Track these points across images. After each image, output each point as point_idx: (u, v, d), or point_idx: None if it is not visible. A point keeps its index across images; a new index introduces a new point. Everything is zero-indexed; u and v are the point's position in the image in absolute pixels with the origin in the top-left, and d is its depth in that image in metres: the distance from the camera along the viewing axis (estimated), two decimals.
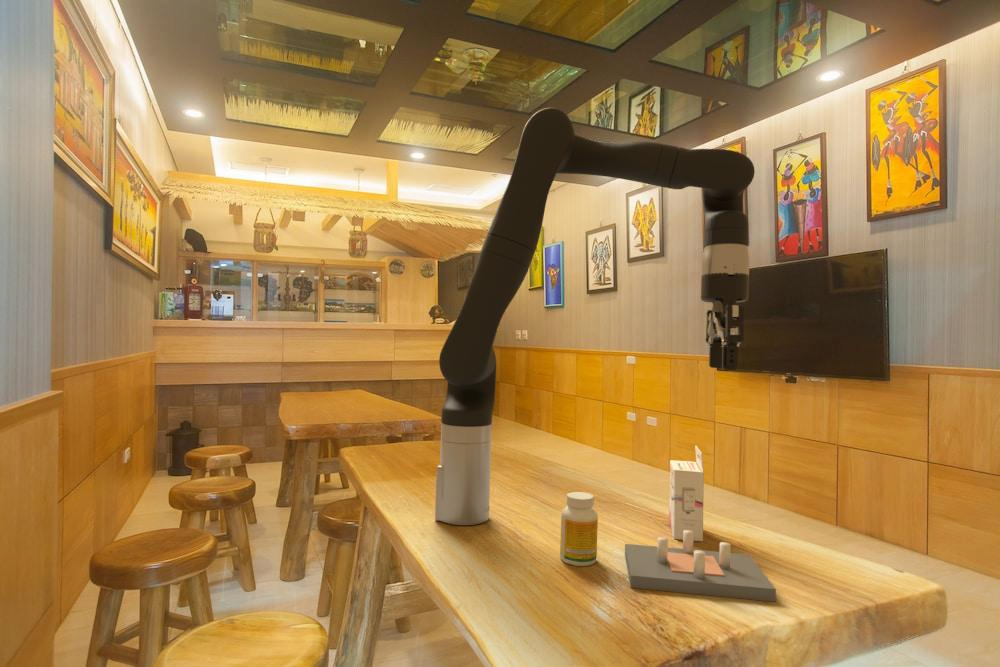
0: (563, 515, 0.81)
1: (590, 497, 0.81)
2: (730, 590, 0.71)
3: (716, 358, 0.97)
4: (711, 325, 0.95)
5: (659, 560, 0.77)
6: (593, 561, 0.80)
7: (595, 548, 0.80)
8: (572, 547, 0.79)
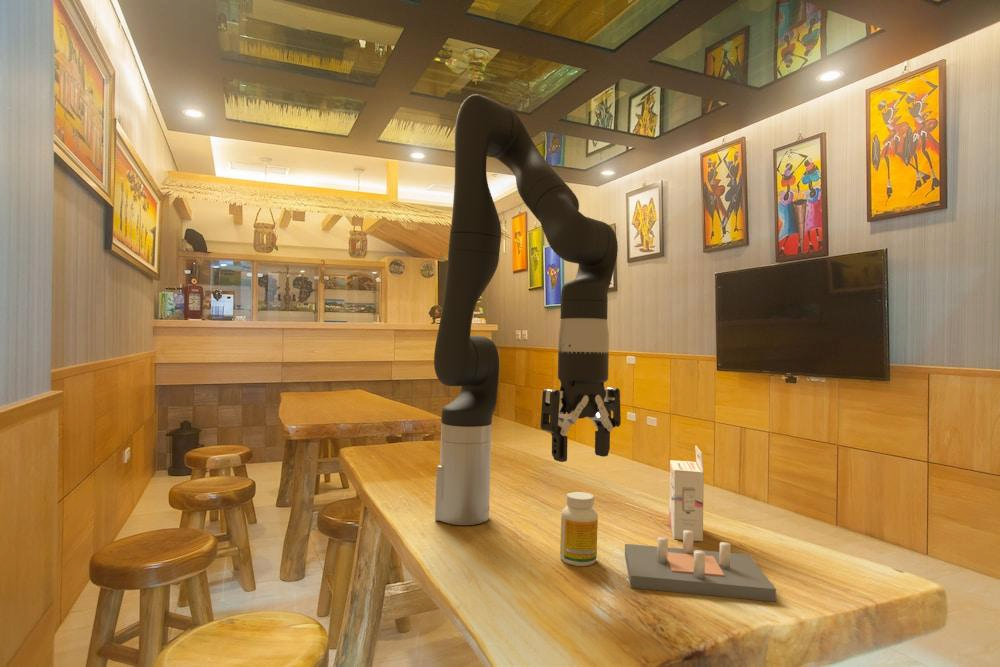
0: (563, 515, 0.81)
1: (590, 497, 0.81)
2: (730, 590, 0.71)
3: None
4: None
5: (659, 560, 0.77)
6: (593, 561, 0.80)
7: (595, 548, 0.80)
8: (572, 547, 0.79)
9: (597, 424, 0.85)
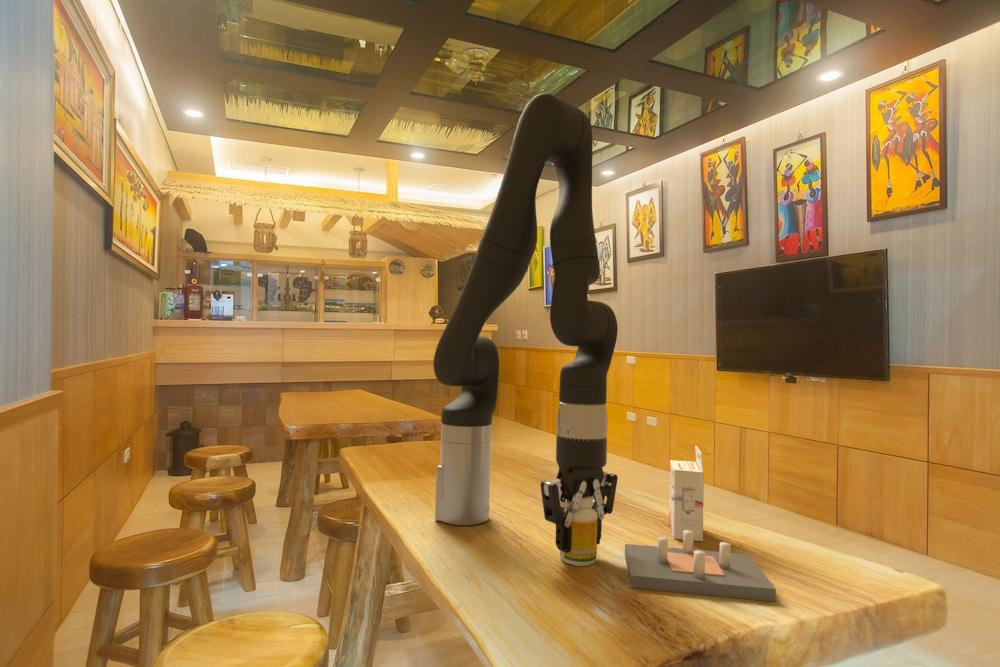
0: (563, 515, 0.81)
1: (589, 497, 0.81)
2: (730, 590, 0.71)
3: None
4: None
5: (659, 560, 0.77)
6: (593, 561, 0.80)
7: (595, 548, 0.80)
8: (572, 547, 0.79)
9: None
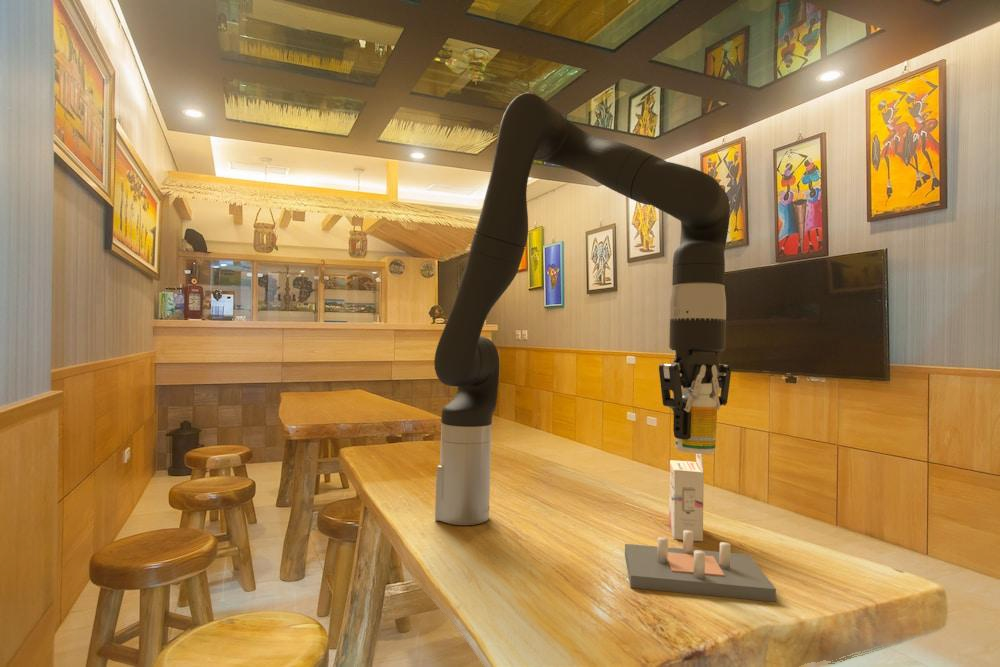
0: None
1: (708, 383, 0.77)
2: (730, 590, 0.71)
3: None
4: None
5: (659, 560, 0.77)
6: (713, 449, 0.76)
7: (715, 436, 0.76)
8: (692, 434, 0.75)
9: None
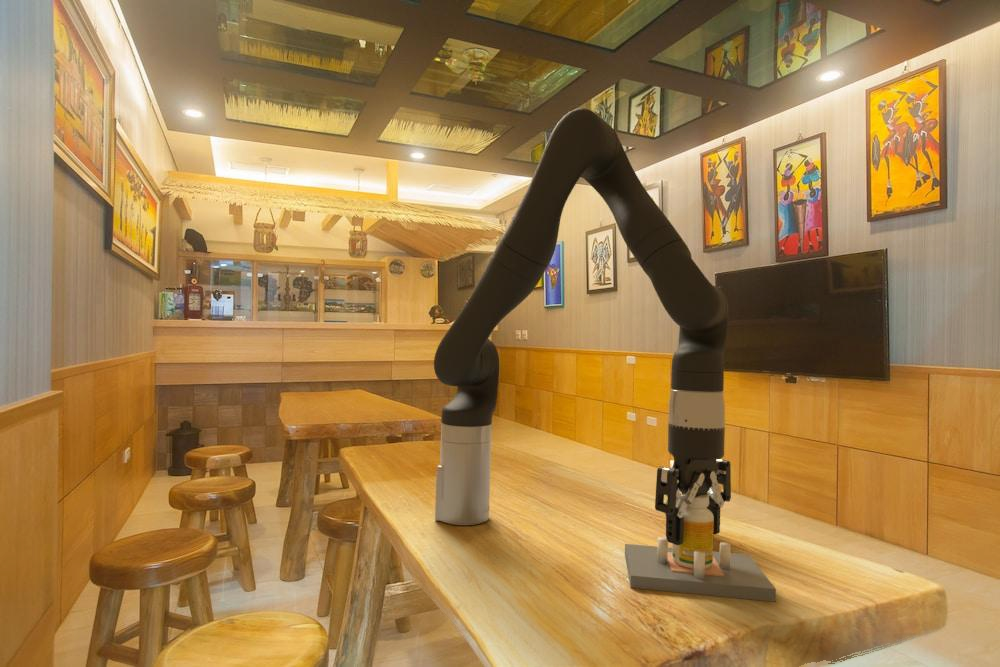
0: None
1: (705, 496, 0.76)
2: (730, 590, 0.71)
3: None
4: None
5: (659, 560, 0.77)
6: (711, 564, 0.75)
7: (712, 550, 0.76)
8: (689, 549, 0.75)
9: None
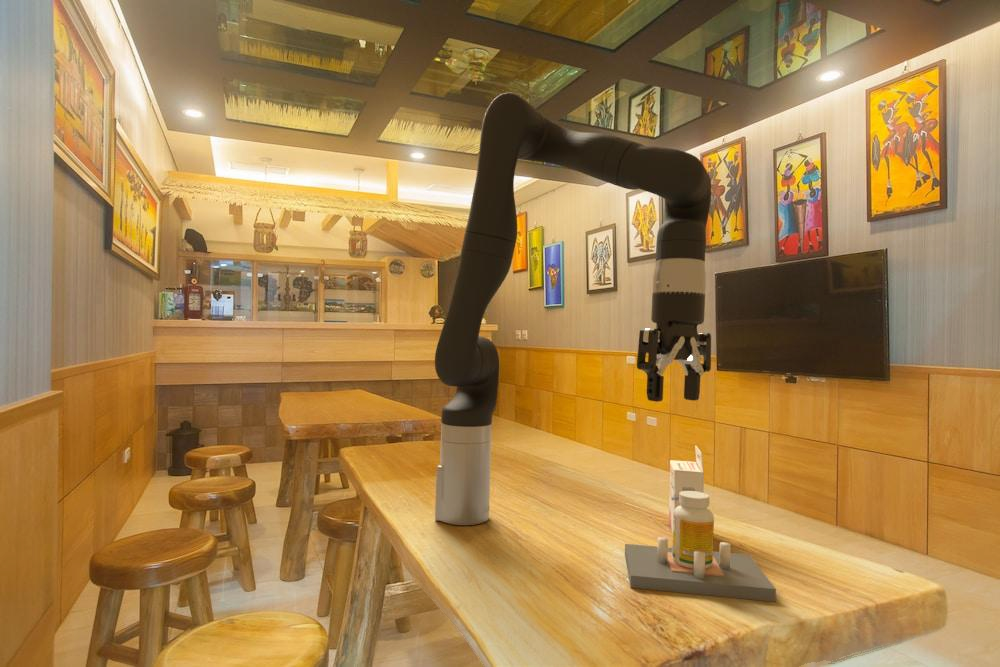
0: (677, 515, 0.76)
1: (705, 496, 0.76)
2: (730, 590, 0.71)
3: None
4: None
5: (659, 560, 0.77)
6: (711, 564, 0.75)
7: (712, 550, 0.76)
8: (689, 549, 0.75)
9: (687, 368, 0.85)
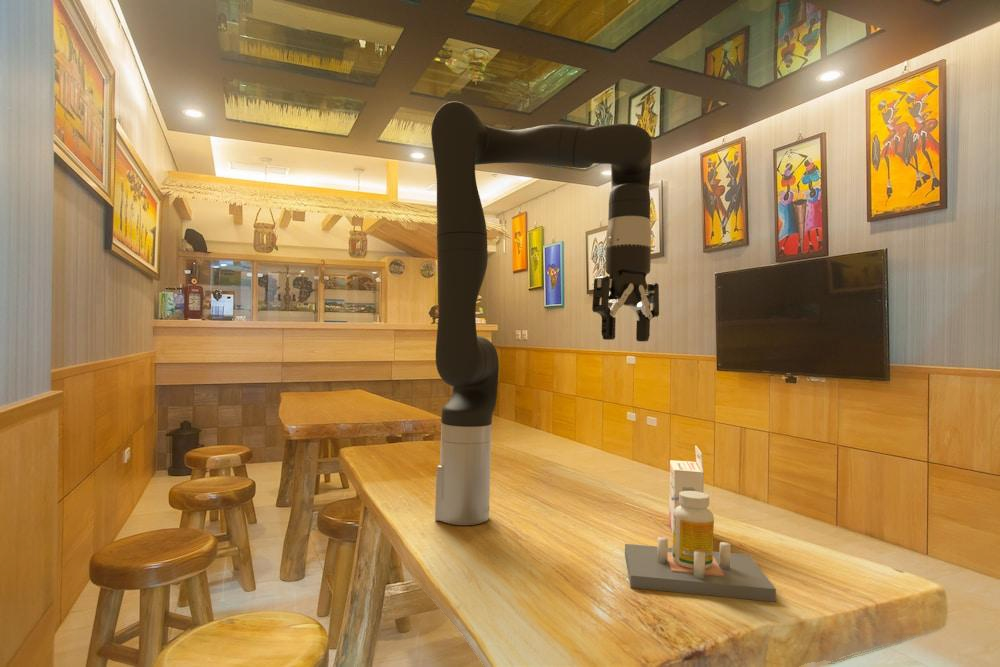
0: (677, 515, 0.76)
1: (705, 496, 0.76)
2: (730, 590, 0.71)
3: None
4: (627, 296, 0.92)
5: (659, 560, 0.77)
6: (711, 564, 0.75)
7: (712, 550, 0.76)
8: (689, 549, 0.75)
9: (638, 314, 0.97)
